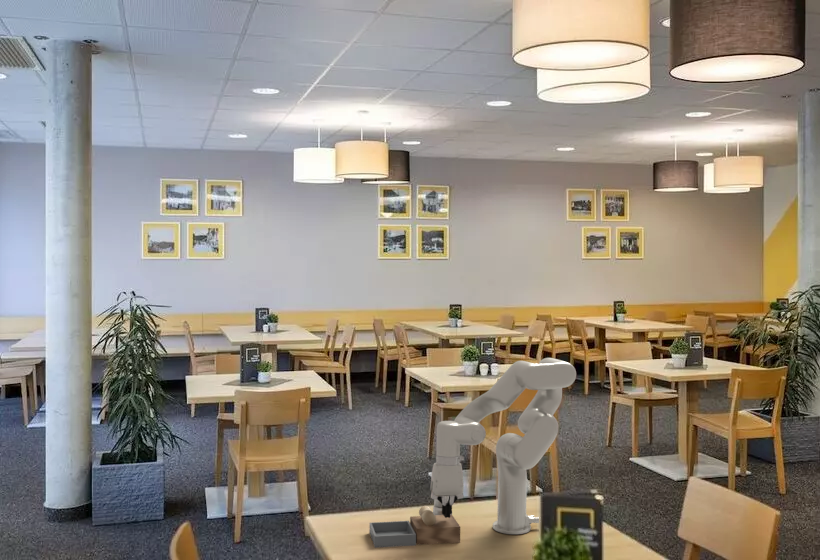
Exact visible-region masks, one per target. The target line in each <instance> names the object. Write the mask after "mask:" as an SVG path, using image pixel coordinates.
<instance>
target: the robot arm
mask: <svg viewBox="0 0 820 560" xmlns="http://www.w3.org/2000/svg"><path fill="white" fill-rule="evenodd" d="M576 378H577V371H576V368H575V366H573V364H572V363H570V362H567V361H564V360H561V359H557V358H553V357H545V358H542V359H541V360H540V361H539V362H538V363H533V362H530V361H527V360H526V361H525V360H517V361H515V362H514V363H513V364H512V365H510V366H509V367H508V368H507V370H505V372H504V373H503V374H502V375H501V377H500V378H499V379H498V380H497V381H496V383H494V384H493V385H492V386H491V388H490V389H488V390H487V391H485V392H484V393H482V394H481V395H479V396H478V397H476V398H474V399H473V400H471V401H470V402H469V403H468V404H467V405H466V406H465V407H463V409H462V410H461V411H460V412H459V413H458V415H457V416H456V417H455V419H454V420H442V421H439V422H438V423H437V426H436V446H435V447H436V453H435V454H436V457H435V462H434V463H433V465H432V470H431V477H430V491H431V494H430V498H431V499H432V500H434V499H435V500H439V501H440V502H441V503H442V514H443V515H444V517H445V518H447V517H448V518H450V514H452V515H453V505H454V503H455V502H456V501H458V500H460V499H463V498H464V490H465V487H464V474H463V466H462V463H461V461H465V456H464V455H460V453H461V446H460V445H467V446H476V445H480V444H481V443H482V442H484V441H485V438H486V436H487V434H486V433H487V431H486V429H485V427H484V426H483V425H482V424H481V423H480V422H481V421H482V420H484V419H485V417H486V418H487V417H488V416H489V415H491V414H494V413H498V412H502V411H505V410H507V409H509V408H510V407H511V406H512V405H513V404H514V402H515V401H516V400H517V399H518V398H519V396H520V395H522V393H523V392H524V391H525V390H526V389H527V390H532V391H537V392H536V393H535V395H534V396H533V398H532V399H531V401H530V402H529V404H528V405H527V407H526V408H525V409H524V410H523V412H521V414H520V416H519V418H518V420H517V428H518V429H519V431H520V432H521V433H522V434H524V436H521V435H519V434H517V433H512V432H507V433H504V434H503V435H501V436H500V437H499V438H498V440H497V442H496V445H495V456H496V461H497V519H496V520H495V521H494V522H493V523H492V529H493V530H494V531H496V532H498V533H501V534H505V535H522V534H527V533H529V532H530V531H531V529H532V526H531V524H532V523H533V524H539V517H540V516H535V515H534V514H533V515H528V514H527V493H528V492H527V489H528V488H527V486H528V485H527V484H528V473H527V470H530V469H533V468H534V467H535V466H536V465H537V464H538V463H539V462H540V460H541V459H542V458H543V456H545V454H546V453H547V451H548V449H550V447H552V444H553V443H554V441H555V440H556V438H557V436H558V433H559V422H558V420H557V418H556V417H555V416H554V415H555V414H556V412H557V410H558V408H559V407H560V405H561V402H562V398H563V389H564V388H568V387H570V386H571V385H573V384H574V383H575V380H576ZM445 496H449V497H448V502H447V503H446V498H445Z"/></svg>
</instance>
